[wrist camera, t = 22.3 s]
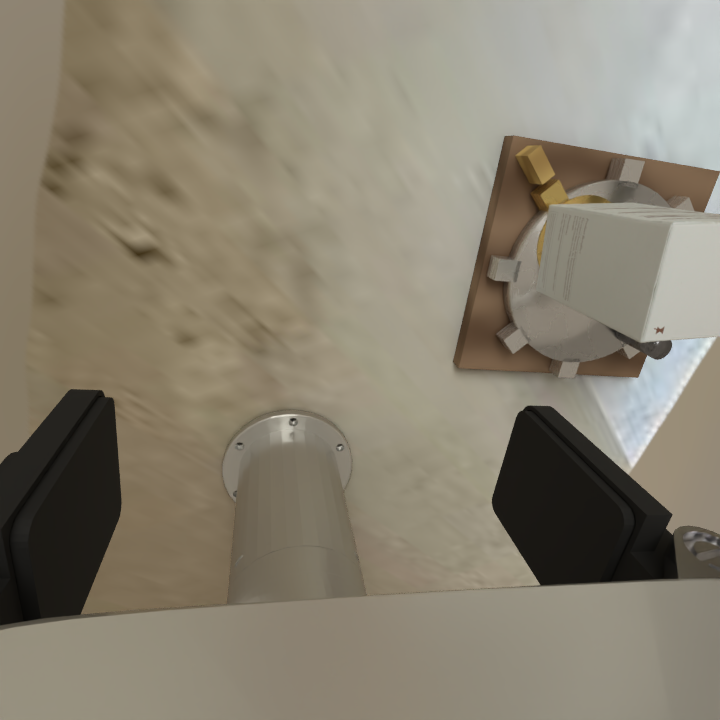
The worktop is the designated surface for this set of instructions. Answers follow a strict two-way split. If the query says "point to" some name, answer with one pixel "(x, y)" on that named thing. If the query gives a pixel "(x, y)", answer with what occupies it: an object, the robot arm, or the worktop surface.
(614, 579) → the robot arm
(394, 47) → the worktop surface
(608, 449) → the worktop surface
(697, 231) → the supplement box
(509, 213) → the walnut plinth
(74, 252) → the worktop surface
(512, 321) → the sprocket wheel
